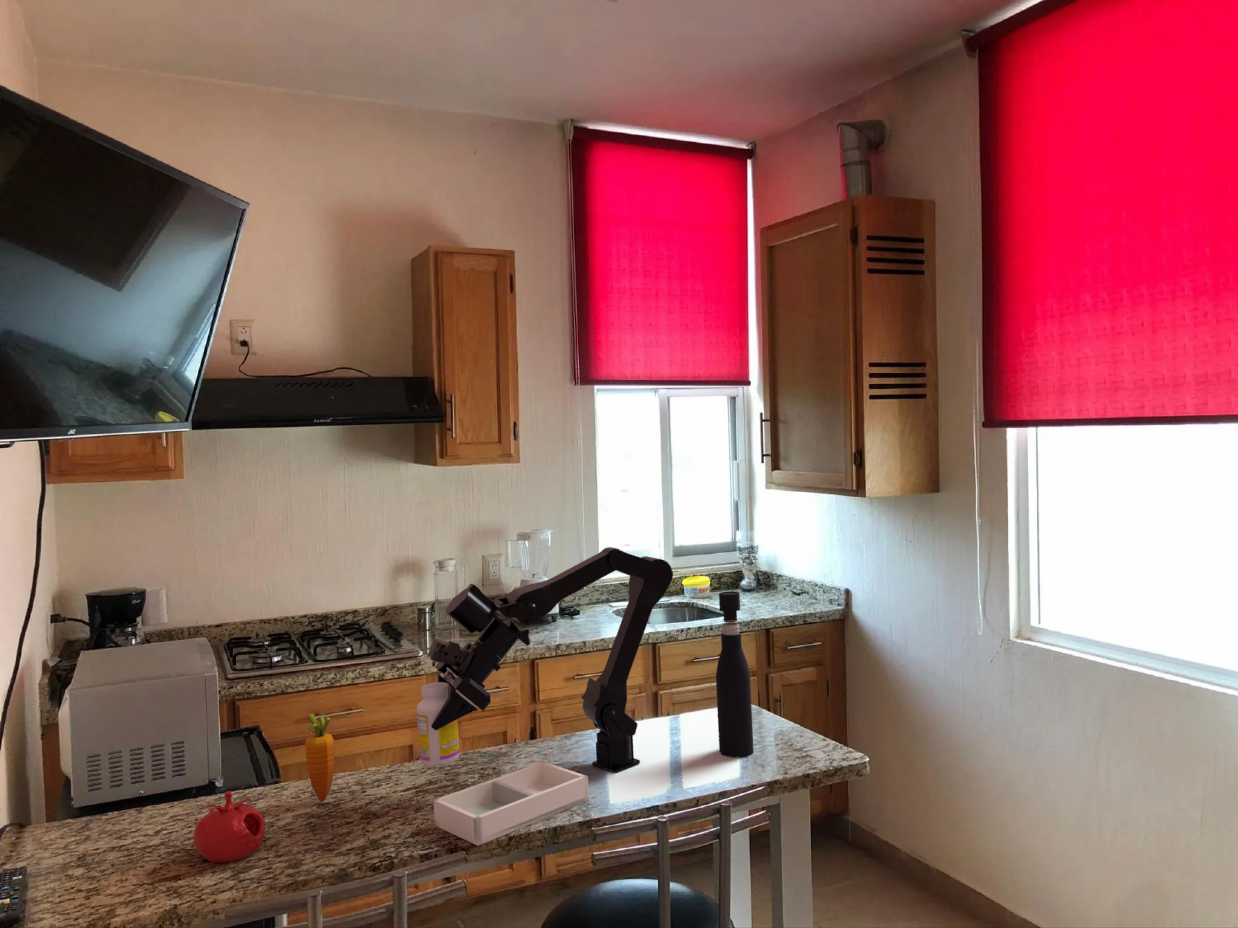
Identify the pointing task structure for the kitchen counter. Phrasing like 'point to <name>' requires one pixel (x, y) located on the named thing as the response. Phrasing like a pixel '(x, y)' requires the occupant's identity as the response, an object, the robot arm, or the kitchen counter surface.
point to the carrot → (320, 757)
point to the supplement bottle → (435, 743)
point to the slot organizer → (510, 802)
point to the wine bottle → (733, 685)
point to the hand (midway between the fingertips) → (429, 723)
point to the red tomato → (229, 831)
